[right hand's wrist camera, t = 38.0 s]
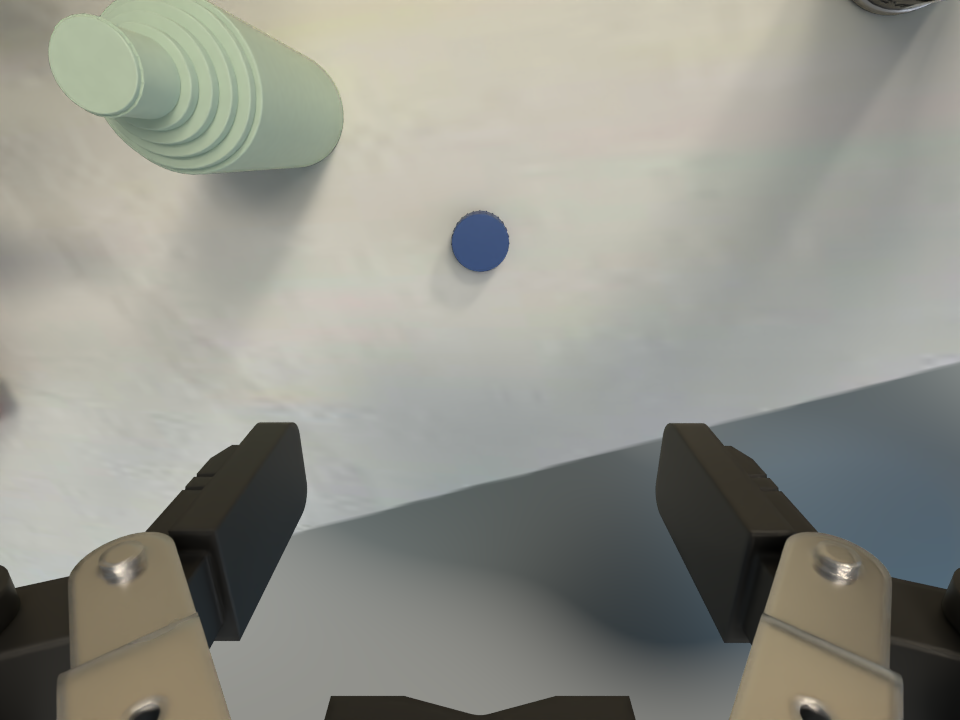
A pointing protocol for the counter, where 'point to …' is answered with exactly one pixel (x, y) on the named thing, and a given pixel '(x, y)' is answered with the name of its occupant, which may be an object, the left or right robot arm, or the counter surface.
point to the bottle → (197, 87)
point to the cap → (480, 241)
